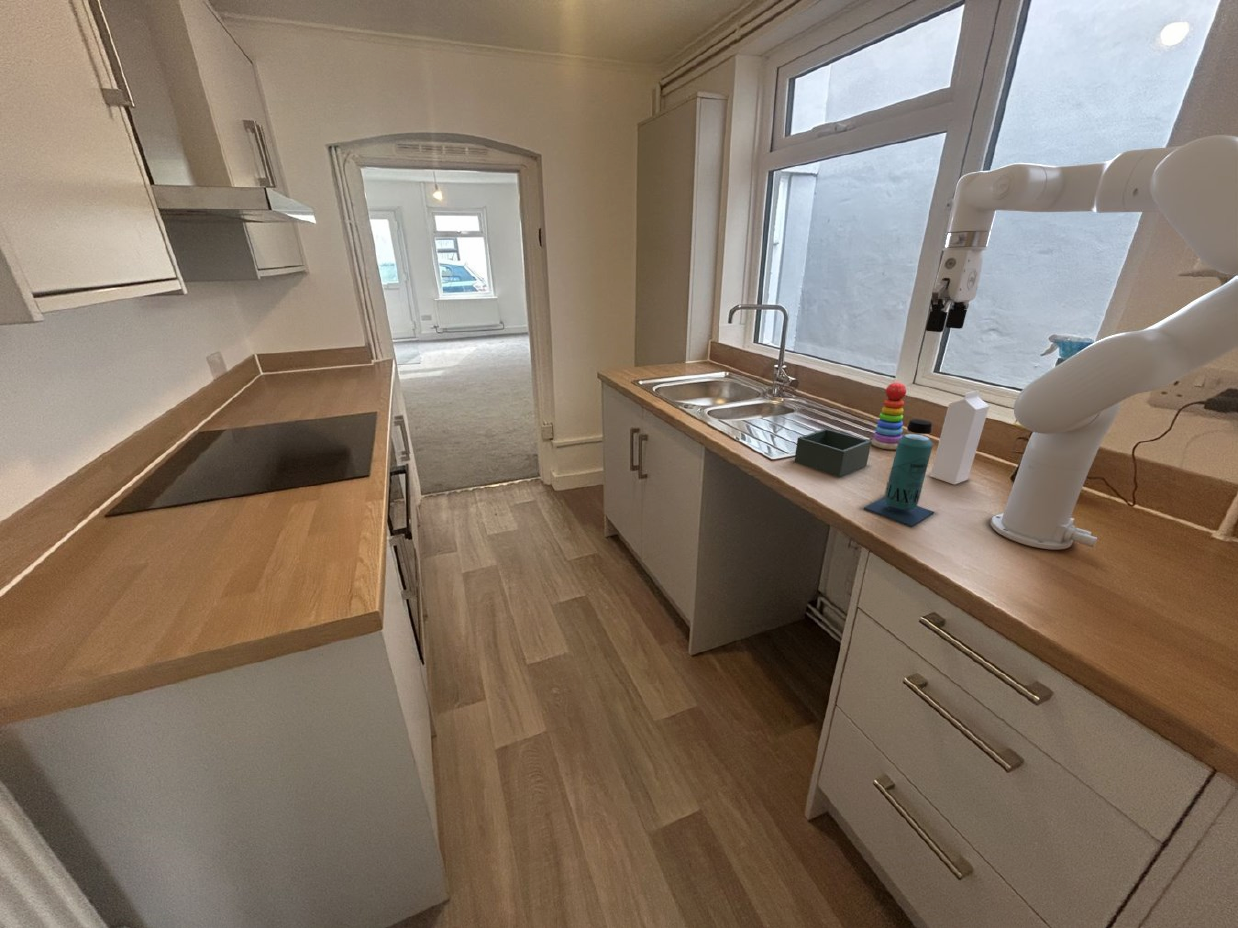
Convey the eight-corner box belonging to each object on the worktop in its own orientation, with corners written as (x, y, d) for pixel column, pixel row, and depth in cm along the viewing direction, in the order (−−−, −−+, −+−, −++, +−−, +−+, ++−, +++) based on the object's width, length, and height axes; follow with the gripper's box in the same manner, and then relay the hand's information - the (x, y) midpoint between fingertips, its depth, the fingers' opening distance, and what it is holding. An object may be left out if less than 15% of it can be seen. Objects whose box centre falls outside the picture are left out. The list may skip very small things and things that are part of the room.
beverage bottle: (874, 505, 106) (894, 417, 98) (898, 501, 108) (919, 414, 100) (899, 518, 100) (921, 427, 92) (924, 514, 102) (948, 423, 94)
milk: (929, 476, 121) (951, 390, 113) (943, 471, 124) (965, 387, 116) (955, 485, 116) (979, 395, 108) (968, 479, 119) (993, 392, 111)
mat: (933, 513, 103) (934, 511, 103) (911, 527, 97) (912, 525, 97) (886, 496, 110) (886, 495, 110) (863, 509, 105) (864, 507, 105)
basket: (866, 465, 128) (871, 440, 125) (839, 477, 120) (844, 451, 118) (821, 451, 137) (825, 428, 135) (794, 462, 130) (797, 437, 128)
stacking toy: (894, 441, 145) (907, 380, 138) (906, 451, 138) (921, 386, 131) (866, 441, 146) (879, 379, 139) (877, 450, 138) (890, 386, 131)
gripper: (969, 240, 90) (946, 334, 96) (1002, 243, 99) (979, 328, 106) (926, 242, 96) (907, 331, 102) (962, 244, 105) (942, 325, 111)
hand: (944, 329), depth 104 cm, fingers open, 9 cm apart
